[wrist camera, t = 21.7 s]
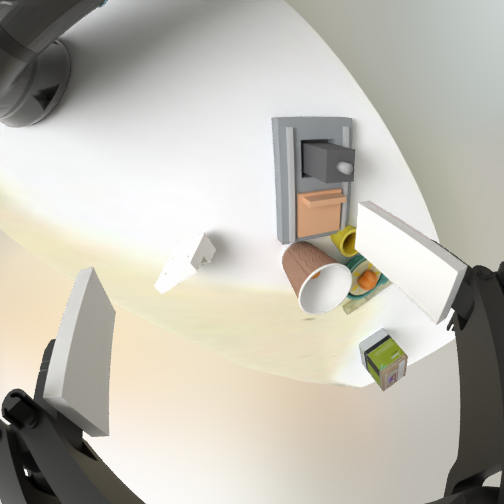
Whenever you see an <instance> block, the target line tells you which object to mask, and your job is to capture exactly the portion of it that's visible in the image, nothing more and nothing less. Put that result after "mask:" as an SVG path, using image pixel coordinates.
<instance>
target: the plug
mask: <svg viewBox="0 0 504 504" xmlns="http://www.w3.org/2000/svg"><path fill="white" fill-rule="evenodd" d="M354 160H355V150H354V149H350V148H347V147H343V146H339V145H336V144H332V143H328V142H301V171H302V172H304V173H306V174H308V175H310V176H312V177H314V178H316V179H318V180H320V181H322V182H324V183H326V184H327V183H339V182H352V181H353V178H354Z"/></svg>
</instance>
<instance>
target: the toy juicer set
mask: <svg viewBox="0 0 504 504" xmlns="http://www.w3.org/2000/svg"><path fill="white" fill-rule="evenodd" d="M356 229H357V228H355V227H353V226H350V225H348V226H345V229H343V230H342V231H340V230H339V231H338V232H337V234H332V235H331V239H332V241H333V243H334V244H335V245H336V247H337V248H338V250H339V251H340V252H341V254H342V255H343V256H345V257H352V256H354V255H356V254H357V253H358V251H357V250H356V249H355V239H356ZM346 267H348V268H349V270H350V272H351V274H352V285H351V288H350V291H349V293H348V295H347V296H346V297H348V298H349V299H353V300H352V301H350V302H349V303H347V304H346V305H344V306H343V310H344V311H345V313H346V314H347V315H348V314H350V313H351V312H353V311H354V310H356V309H357V308H358V307H360V306H361V305H363V304H364V303H366V302H367V301H368V300H370V299H371V298H372V297H374V296H375V295H377V294H378V293H379V292H381V291H382V290H384V289H385V288H386V287H388V286H389V285H390V284H392V283H393V282H391V281H390V280H389V279H388V278H387V277H386V276H385V275H384V274H383V273H382V272H380V271H379V270H378V269H377V268H376V267H375V266H374V265H373V264H372V263H370V262H369V261H368V260H367V259H366V258H365V257H364V256H362V255H359V256H357V257H355V258H353V259H352V260H351V261H350V262H349V263H348V264H347V266H346ZM320 272H321V270H320V271H319V272H317V273H316V274H315V275H314V276H312V277H311V278H310V279H315V278H317V277H318V276H319V275H320Z"/></svg>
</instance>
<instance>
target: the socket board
mask: <svg viewBox="0 0 504 504" xmlns="http://www.w3.org/2000/svg"><path fill="white" fill-rule="evenodd" d="M272 129H273V146H274V164H275V185H276V208H277V236H278V240H279V241H280V242H281V244H282V245H284V244H289V243H294V242H298V241H303V240H308V239H313V238H318V237H323V236H327V235H332V234H337V232H338V231H339V230H340V231H342V230H343V229H345V226H348V221H349V208H350V193H351V182H339V183H327V184H326V183H324V182H322V181H320V180H318V179H316V178H314V177H312V176H310V175H308V174H306V173H304V172H302V171H301V142H328V143H332V144H336V145H339V146H343V147H347V148H350V149H352V118H344V117H280V118H272ZM334 188H340V189H342V190H341V194H342V195H344V196H346V202H345V203H341V209H340V224H339V230H335V231H330V232H325V233H320V234H315V235H311V236H306V237H301V238H299V237H298V236H297V193H303V192H310V191H318V190H326V189H334Z"/></svg>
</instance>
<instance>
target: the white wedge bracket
mask: <svg viewBox="0 0 504 504" xmlns="http://www.w3.org/2000/svg"><path fill="white" fill-rule="evenodd" d="M215 251H216V248H215V247H214V246H213V244H212V243H211V242H210V240H209V239H208V237H207V236H206V235H205V233H203V234H200V235H197V236H194V237H192V238H189V239H186V240H183V241H180V242H178V244H177V245H176V247H175V249H174V251H173V253H172V254H171V256H170V258H169V260H168V262H167V264H166V265H165V267H164V269H163V271H162V273H161V275H160V277H159V279H158V281H157V282H156V284H155V286H154V287H155V288H156V289H157V290H158V291H159V292H160V293H161V294H163V293H165V292H166V291H168V290H169V289H171V288H172V287H174V286H175V285H177V284H178V283H179V282H182V281H183V280H185V279H186V278H188V277H189V276H191V275H192V274H194V273H195V272H197V271H198V268H199V266H200V265H204V264H208V263H211V261H212V258H213V256H214V254H215Z"/></svg>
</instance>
